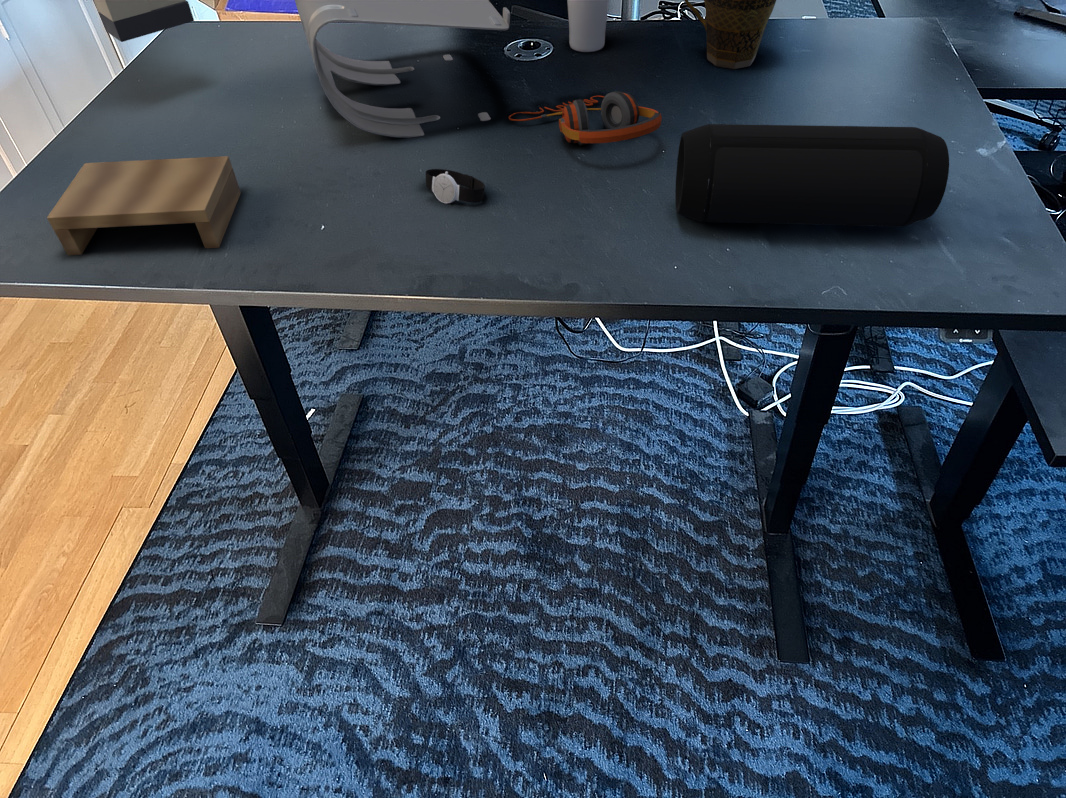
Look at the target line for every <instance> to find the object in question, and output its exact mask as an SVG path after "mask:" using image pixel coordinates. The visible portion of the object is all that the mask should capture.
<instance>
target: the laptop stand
mask: <svg viewBox="0 0 1066 798" xmlns="http://www.w3.org/2000/svg"><path fill="white" fill-rule="evenodd" d="M294 2H295V6H296V9H297V13H298V16H299V19H300V23H301V26H302V29H303V32H304V35H305V38H306V41H307V46H308V48H309V51H310V55H311V58H312V61H313V65H314V67H315V71H316V74H317V77H318V80H319V83H320V85H321V88H322V90H323V92H324V94H325V96H326V98H327V99H328V102H329V103H330V104H331V105H332V107H333V109H335V111H336V112H338V114H339V115H340V116H341V117H343V118H344V119H345V120H346V121H347V122H349V123H350V124H351V125H353V126H354V127H356V128H357V129H359V130H362V131H364V132H367V133H371V134H375V135H379V136H385V137H390V138H407V139H409V138H416V137H422V136H425V133H424V130H423V128H422V127H421V125H420V124H423V123H430V122H435V121H439V120H440V119H441V116H440V115H437V114H434V115H427V116H422V117H417V116H416V114H415V112H414V110H413V108H411V107H405V108H401V107H400V108H392V107H391V108H390V107H389V108H388V107H380V106H374V105H370V104H366V103H363V102H358V101H356V100H353V99H352V98H351V99H350V98H349V97H348V96H346V95H345V94H344V93H342V92H341V91H340V90H339V89H338V88H337V86H336V83H335V80H334V77H333V75H335V76H336V77H338V78H340V79H344V80H346V81H348V82H353V83H356V84H357V83H358V84H362V85H367V86H368V85H369V86H374V87H375V86H378V87H381V86H382V87H383V86H385V87H388V86H392V85H393V86H394V85H398V84H401V80H400V79H399V77H397V75H396V74H401V73H408V72H412V71H414V70H415V67H414V66H404V67H398V68H393V67H392V65H391V62H390V61H389V60H378V61H377V60H361V59H356V58H355V59H354V58H351V57H346V56H343V55H339V54H337V53H334V52H333V51H331V50H329V49H328V48H326V46H324V45H323V44H322V43H321V42H320V41H319V40H318V39H317V35H318V33H319V31H320V30H321V29H322V28H323V27H324V26H327V25H329V24H332V23H355V24H371V25H372V24H373V25H392V26H393V25H394V26H411V27H429V28H430V27H432V28H449V29H451V28H452V29H469V30H485V31H486V30H487V31H488V30H489V31H508V30H509V29H510V22H511V12H510V10H509V9H508V8H507V7H506V6H505V7H503V8H502V15H501V14H500V13H499V12H498V10H497V9H496V8H495V6H494V5H493V4H492V3H491V1H490V0H294ZM442 57H443V59H444V60H445V62H450V61H453V60H454V57H452V55H451V54H444V55H442ZM477 117H478V119H479V120H480V121H481V122H487V121H490V120H491V119H492V118H491V117H490V115H489V113H488V112H486V111H484V112H479V113H477Z"/></svg>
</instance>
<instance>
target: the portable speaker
mask: <svg viewBox="0 0 1066 798" xmlns="http://www.w3.org/2000/svg"><path fill="white" fill-rule="evenodd" d="M678 145H679V146H678V151H677V158H676V159H677V160H676V173H675V190H674V191H675V192H674V193H675V195H674V196H675V212H676V213H677V214H679V215H681V216H684V217H686V218H688V219H691V220H693V221H696V222H699V223H717V224H718V223H720V224H721V223H727V224H782V225H819V226H821V225H822V226H824V225H826V226H846V227H847V226H849V227H852V226H853V227H884V228H885V227H888V228H889V227H893V228H894V227H895V228H897V227H898V228H902V227H906V226H908V225H909V226H910V225H911V224H915V223H918V222H921V221H924V220H927V219H929V218H931V217H932V216H934V214H935V213H936V212H937V210H938V209H939V207H940V205H941V203H942V201H943V198H944V196H945V193H946V189H947V185H948V180H949V173H950V154H949V148H948V145H947V142H946V141H945V139H944V138H942V136H939V135H938V134H935V133H932V132H930V131H927V130H926V129H923V128H920V127H916V126H875V125H874V126H873V125H872V126H871V125H870V126H869V125H868V126H867V125H865V126H863V125H806V124H805V125H801V124H800V125H795V124H794V125H792V124H789V125H788V124H734V123H733V124H730V123H729V124H728V123H727V124H726V123H722V124H719V123H717V124H716V123H712V124H711V123H708V124H704V125H701V126H697V127H694V128H692V129H689V130H686V131H684V132H682V133H681V136H680V139H679V144H678Z"/></svg>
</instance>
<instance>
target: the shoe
mask: <svg viewBox="0 0 1066 798" xmlns="http://www.w3.org/2000/svg"><path fill="white" fill-rule="evenodd" d="M93 2H94V5H95V7H96V10H97V11H98V15H99V18H100V20H101V23H102V25H103V27H104V29H105V33H107V34H109V35H111V36H112V37H113V38H115V39H116V40H118V41H119V42H121V43H123V42H127V41H130V40H134V39H138V38H141V37H145V36H148V35H150V34H154V33H158V32H161V31H165V30H168V29H172V28H176V27H178V26H182V25H186V24H188V23H193V22H194V21H195V19H194V15H193V13H192V9H191V7H190V6H191V5H190V3H189V1H188V0H93Z"/></svg>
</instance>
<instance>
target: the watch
mask: <svg viewBox="0 0 1066 798" xmlns="http://www.w3.org/2000/svg"><path fill="white" fill-rule="evenodd" d="M425 186H426V188H427V189H428V190H430V191H432V192H433V194H434V196H435V198H436V199H437V200H438V202H441V203H444V204H451V203H453V202H455V201H458V202H459V201H461V202H466V203H471V204H472V203H474V204H476V203H481V202H482V201H484V195H485V187H486V186H485V183H484V182H482V181H481V180H479V179H477V178H476V177H474V176H472V175H470V174H465V173H462V172H458V171H455V170H450V169H443V168H431V169H427V170H426V171H425Z"/></svg>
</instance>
